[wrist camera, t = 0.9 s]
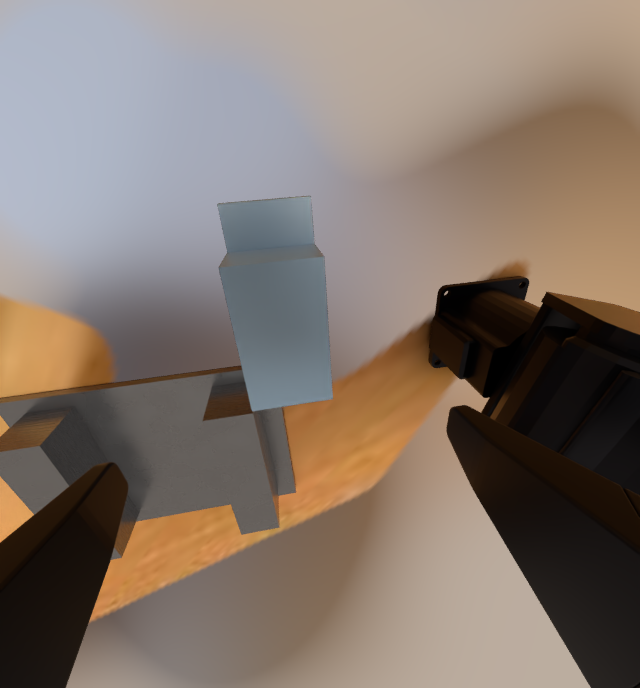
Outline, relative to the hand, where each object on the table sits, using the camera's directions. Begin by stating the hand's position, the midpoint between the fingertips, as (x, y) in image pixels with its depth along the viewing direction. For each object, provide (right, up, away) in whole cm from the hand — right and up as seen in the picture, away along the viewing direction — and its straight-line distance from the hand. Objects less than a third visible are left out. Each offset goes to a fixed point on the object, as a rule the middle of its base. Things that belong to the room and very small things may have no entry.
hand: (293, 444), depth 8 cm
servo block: (-2, +6, +11) cm, 13 cm away
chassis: (-11, -6, +16) cm, 20 cm away
